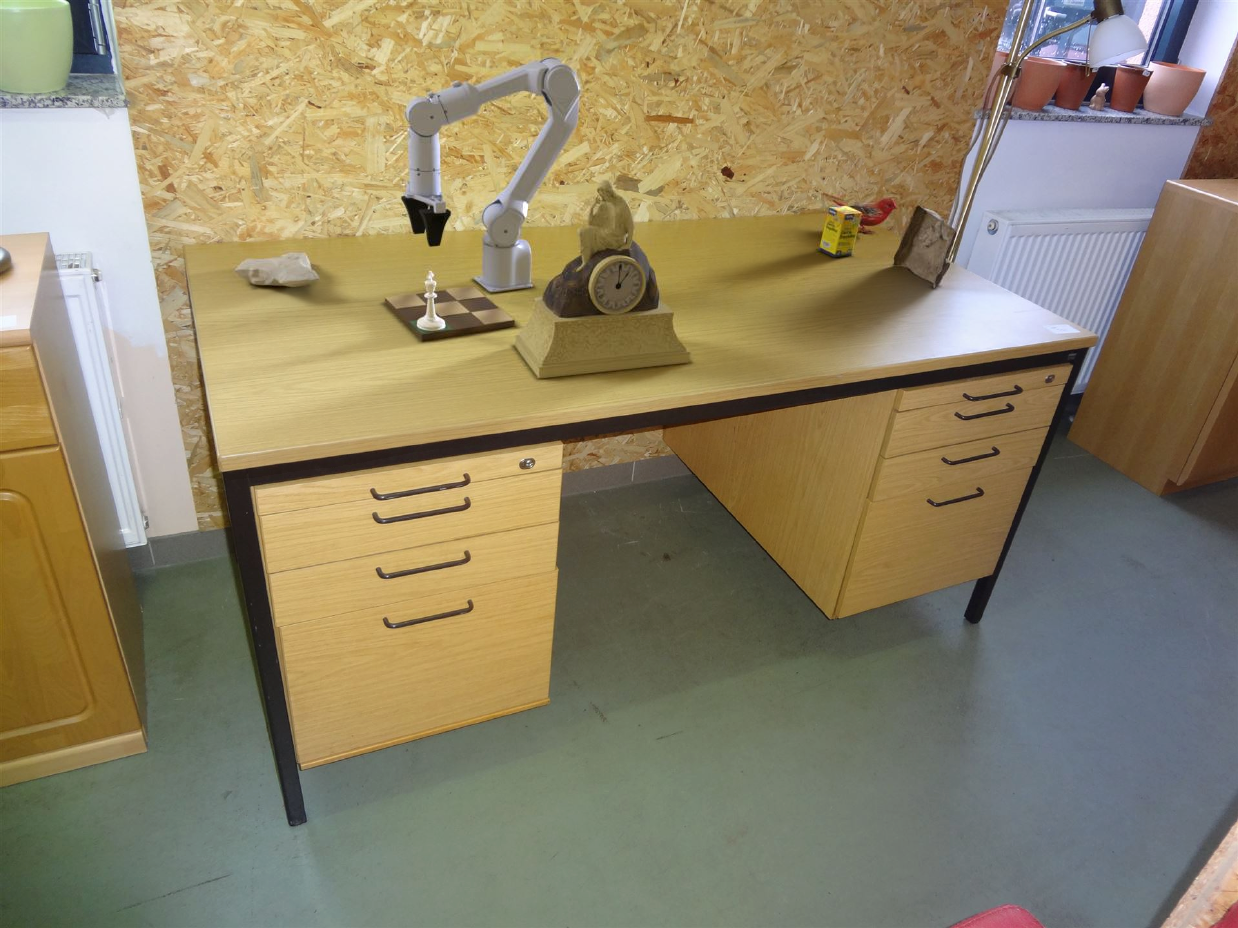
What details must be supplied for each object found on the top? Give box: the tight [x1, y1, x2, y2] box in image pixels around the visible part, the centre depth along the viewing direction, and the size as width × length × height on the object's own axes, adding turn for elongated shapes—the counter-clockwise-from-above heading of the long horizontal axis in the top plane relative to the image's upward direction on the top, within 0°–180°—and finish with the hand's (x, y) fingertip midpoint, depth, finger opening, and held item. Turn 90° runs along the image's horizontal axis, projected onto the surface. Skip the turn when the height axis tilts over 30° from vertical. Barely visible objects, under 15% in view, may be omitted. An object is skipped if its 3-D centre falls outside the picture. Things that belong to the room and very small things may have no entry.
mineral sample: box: [892, 205, 958, 289], centre depth 202 cm, size 17×4×15 cm, turn 20°
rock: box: [234, 251, 320, 288], centre depth 165 cm, size 21×5×15 cm
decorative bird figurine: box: [832, 197, 898, 234], centre depth 233 cm, size 3×18×10 cm, turn 60°
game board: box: [384, 285, 515, 342], centre depth 161 cm, size 18×18×1 cm
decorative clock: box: [514, 179, 691, 379], centre depth 145 cm, size 28×13×30 cm, turn 114°
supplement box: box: [819, 205, 862, 258], centre depth 213 cm, size 6×6×11 cm
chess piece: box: [417, 270, 445, 331], centre depth 150 cm, size 5×5×10 cm
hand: (426, 239), depth 167 cm, fingers open, 7 cm apart
